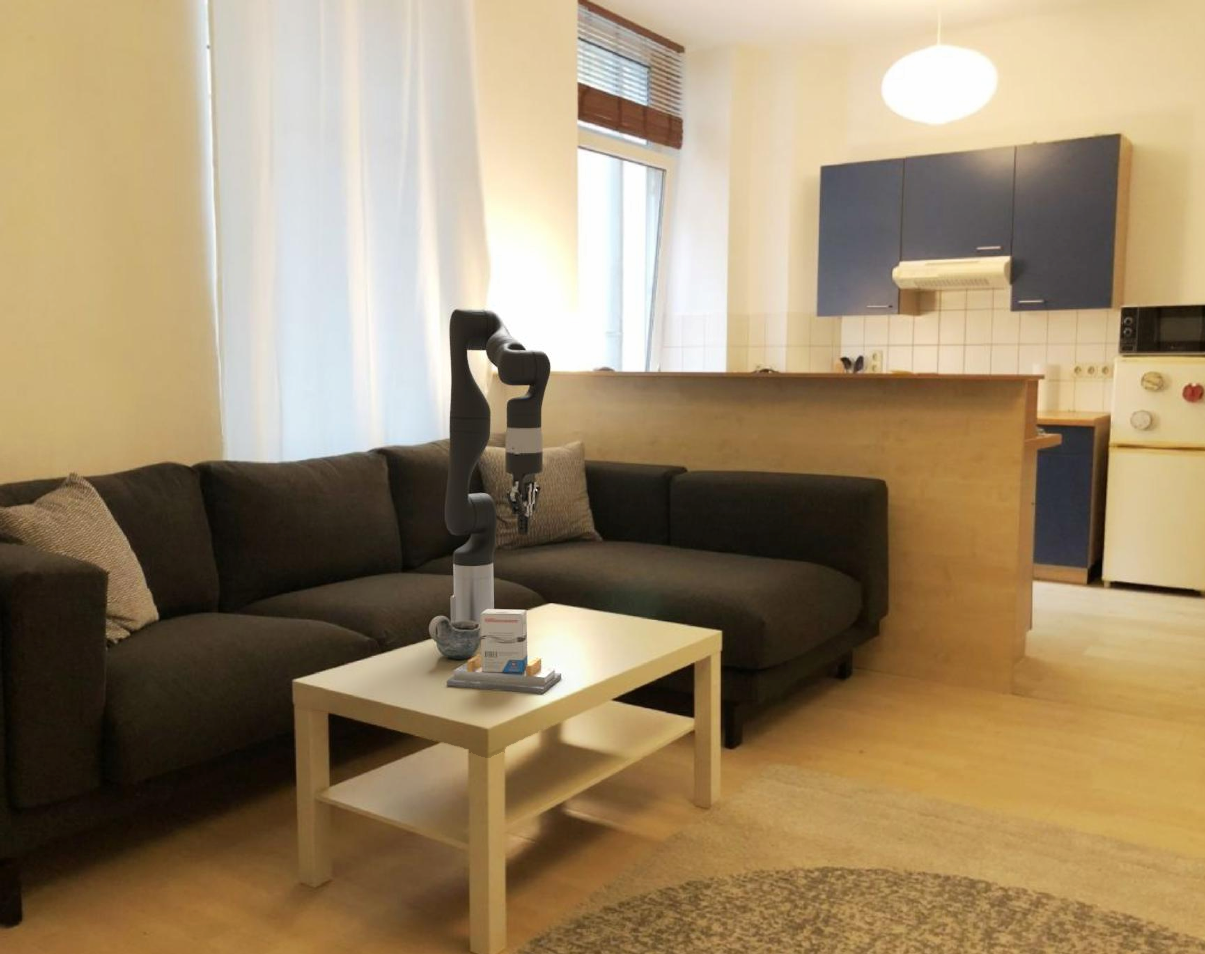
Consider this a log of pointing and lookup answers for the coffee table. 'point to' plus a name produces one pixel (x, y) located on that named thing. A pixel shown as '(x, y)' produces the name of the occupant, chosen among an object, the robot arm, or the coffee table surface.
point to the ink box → (503, 640)
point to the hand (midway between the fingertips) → (524, 534)
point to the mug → (455, 637)
